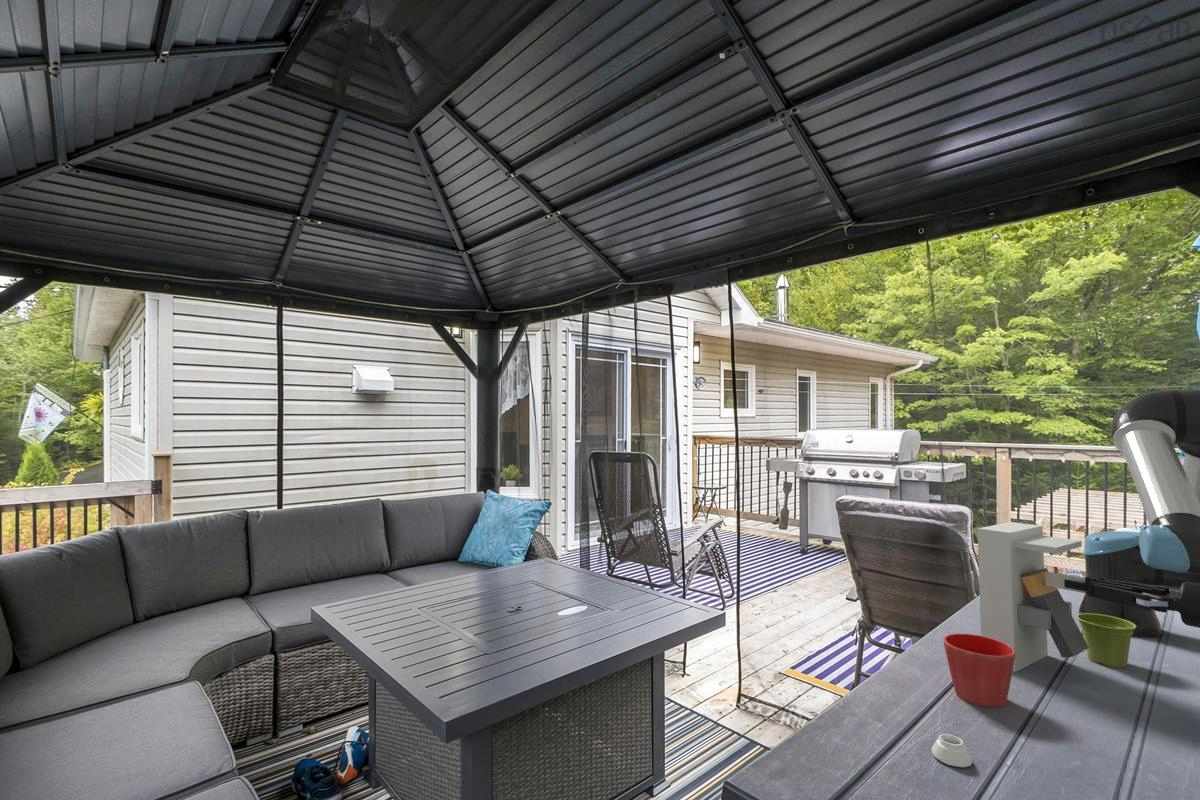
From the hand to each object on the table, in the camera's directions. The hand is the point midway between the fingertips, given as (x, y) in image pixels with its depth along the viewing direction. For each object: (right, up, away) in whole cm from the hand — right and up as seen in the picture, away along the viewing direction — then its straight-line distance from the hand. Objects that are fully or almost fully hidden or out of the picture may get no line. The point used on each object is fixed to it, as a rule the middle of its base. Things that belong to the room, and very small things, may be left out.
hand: (1047, 578), depth 114 cm
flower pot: (-23, -18, -13) cm, 32 cm away
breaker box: (-1, -18, +2) cm, 19 cm away
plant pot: (+15, -19, +3) cm, 24 cm away
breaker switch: (+2, -13, -4) cm, 14 cm away
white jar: (-40, -17, -32) cm, 54 cm away
